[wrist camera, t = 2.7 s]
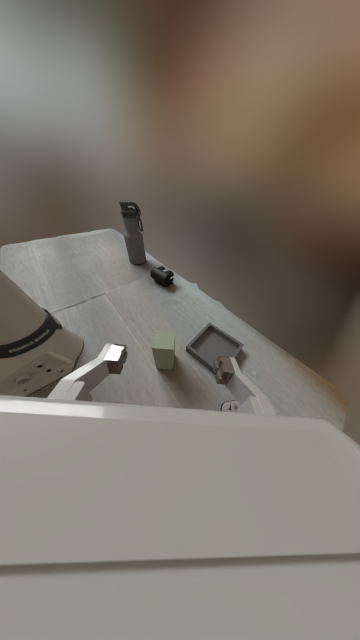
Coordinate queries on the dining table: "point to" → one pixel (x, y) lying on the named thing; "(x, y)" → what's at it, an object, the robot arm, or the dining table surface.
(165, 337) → the sage block
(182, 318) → the dining table surface
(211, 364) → the grey tray
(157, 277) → the end cap
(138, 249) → the water bottle
